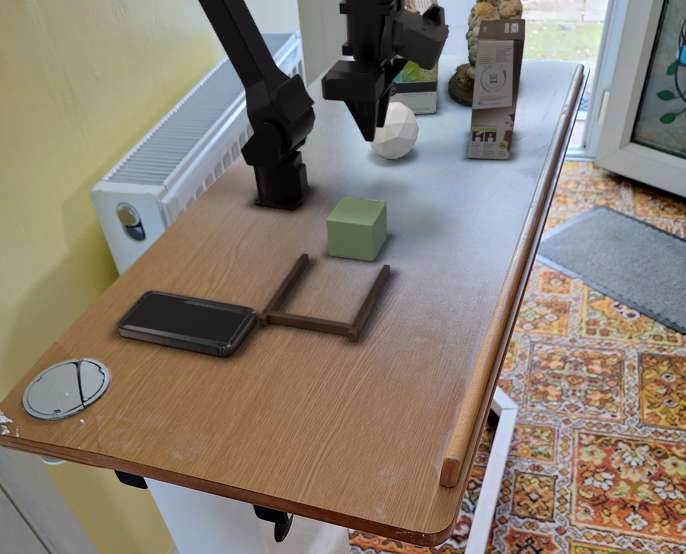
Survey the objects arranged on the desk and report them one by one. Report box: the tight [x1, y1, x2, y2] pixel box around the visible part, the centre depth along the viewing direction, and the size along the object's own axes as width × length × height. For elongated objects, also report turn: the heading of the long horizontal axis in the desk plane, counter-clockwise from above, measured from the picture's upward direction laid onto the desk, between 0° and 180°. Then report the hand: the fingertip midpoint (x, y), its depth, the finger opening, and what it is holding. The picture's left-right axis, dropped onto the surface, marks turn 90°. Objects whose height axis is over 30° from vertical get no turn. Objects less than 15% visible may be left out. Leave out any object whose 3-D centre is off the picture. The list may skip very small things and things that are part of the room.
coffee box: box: [467, 18, 526, 160], centre depth 98 cm, size 9×6×16 cm
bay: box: [258, 252, 391, 342], centre depth 80 cm, size 12×14×1 cm
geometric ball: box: [369, 102, 420, 160], centre depth 101 cm, size 8×8×8 cm
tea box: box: [389, 0, 440, 115], centre depth 113 cm, size 15×10×15 cm
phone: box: [116, 289, 258, 357], centre depth 78 cm, size 8×1×15 cm
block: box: [325, 196, 388, 262], centre depth 85 cm, size 6×6×5 cm
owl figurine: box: [447, 0, 524, 107], centre depth 113 cm, size 18×12×17 cm, turn 170°
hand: (374, 134), depth 84 cm, fingers open, 4 cm apart
